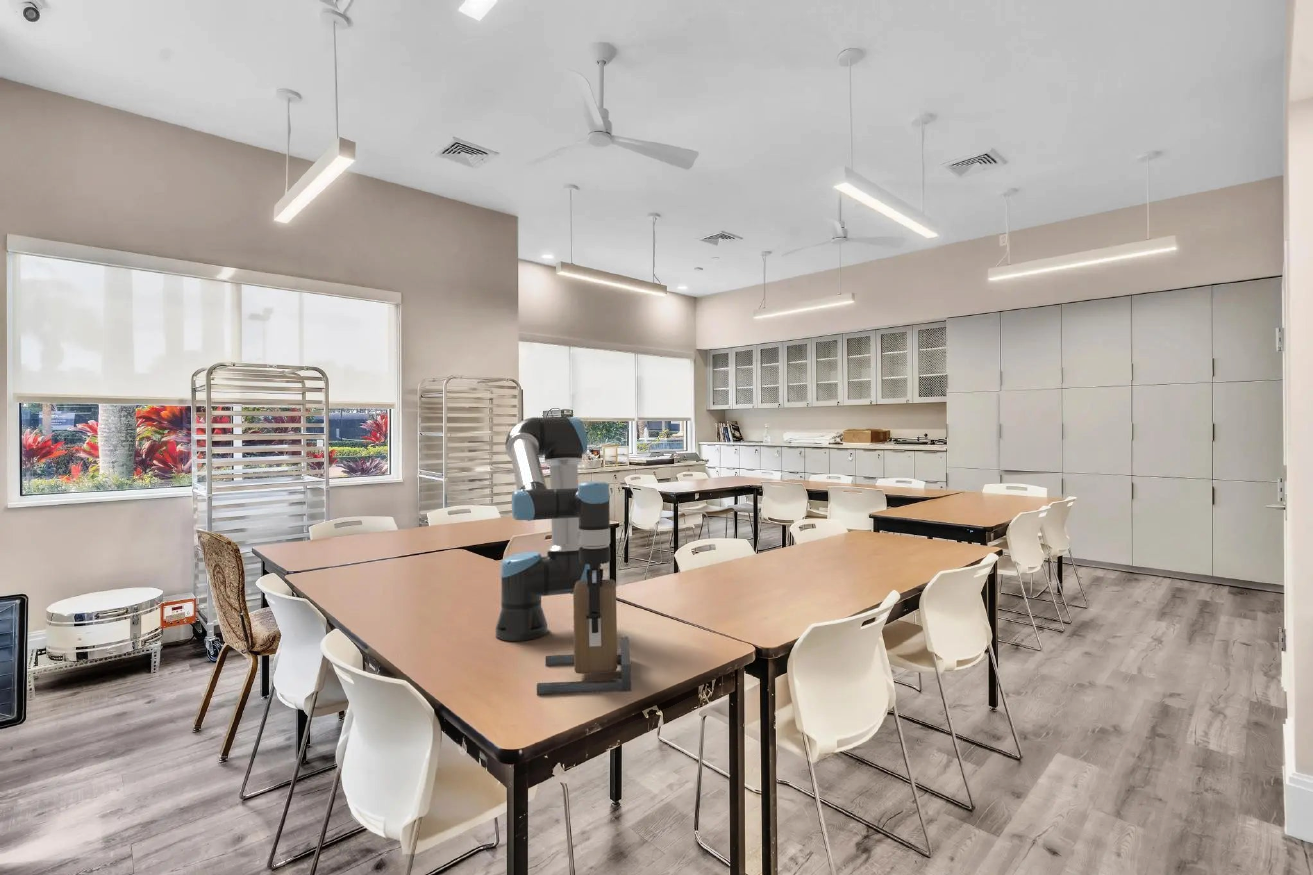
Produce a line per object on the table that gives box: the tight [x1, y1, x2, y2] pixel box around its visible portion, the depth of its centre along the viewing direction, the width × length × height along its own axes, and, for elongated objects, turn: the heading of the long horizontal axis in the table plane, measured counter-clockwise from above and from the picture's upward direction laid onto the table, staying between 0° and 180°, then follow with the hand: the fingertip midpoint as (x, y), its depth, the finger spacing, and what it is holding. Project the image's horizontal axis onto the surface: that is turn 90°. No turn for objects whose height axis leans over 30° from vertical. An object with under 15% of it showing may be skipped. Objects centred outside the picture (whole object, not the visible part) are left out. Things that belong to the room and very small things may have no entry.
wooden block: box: [572, 578, 618, 675], centre depth 146 cm, size 10×10×20 cm
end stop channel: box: [536, 636, 632, 696], centre depth 146 cm, size 21×20×6 cm
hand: (595, 638), depth 146 cm, fingers closed on wooden block, 10 cm apart
